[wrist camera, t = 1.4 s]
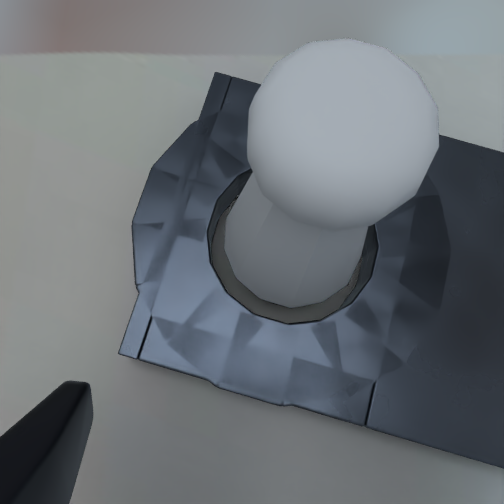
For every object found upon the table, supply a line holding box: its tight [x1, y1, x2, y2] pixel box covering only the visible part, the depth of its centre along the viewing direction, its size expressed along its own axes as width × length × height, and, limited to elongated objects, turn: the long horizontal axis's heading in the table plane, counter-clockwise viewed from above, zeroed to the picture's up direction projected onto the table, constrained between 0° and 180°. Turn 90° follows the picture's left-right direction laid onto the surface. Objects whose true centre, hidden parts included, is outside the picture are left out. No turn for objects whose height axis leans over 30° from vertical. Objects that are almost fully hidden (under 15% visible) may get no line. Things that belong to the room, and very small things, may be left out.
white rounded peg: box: [224, 38, 439, 308], centre depth 16 cm, size 6×6×13 cm
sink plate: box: [118, 72, 504, 468], centre depth 21 cm, size 25×13×2 cm, turn 74°
